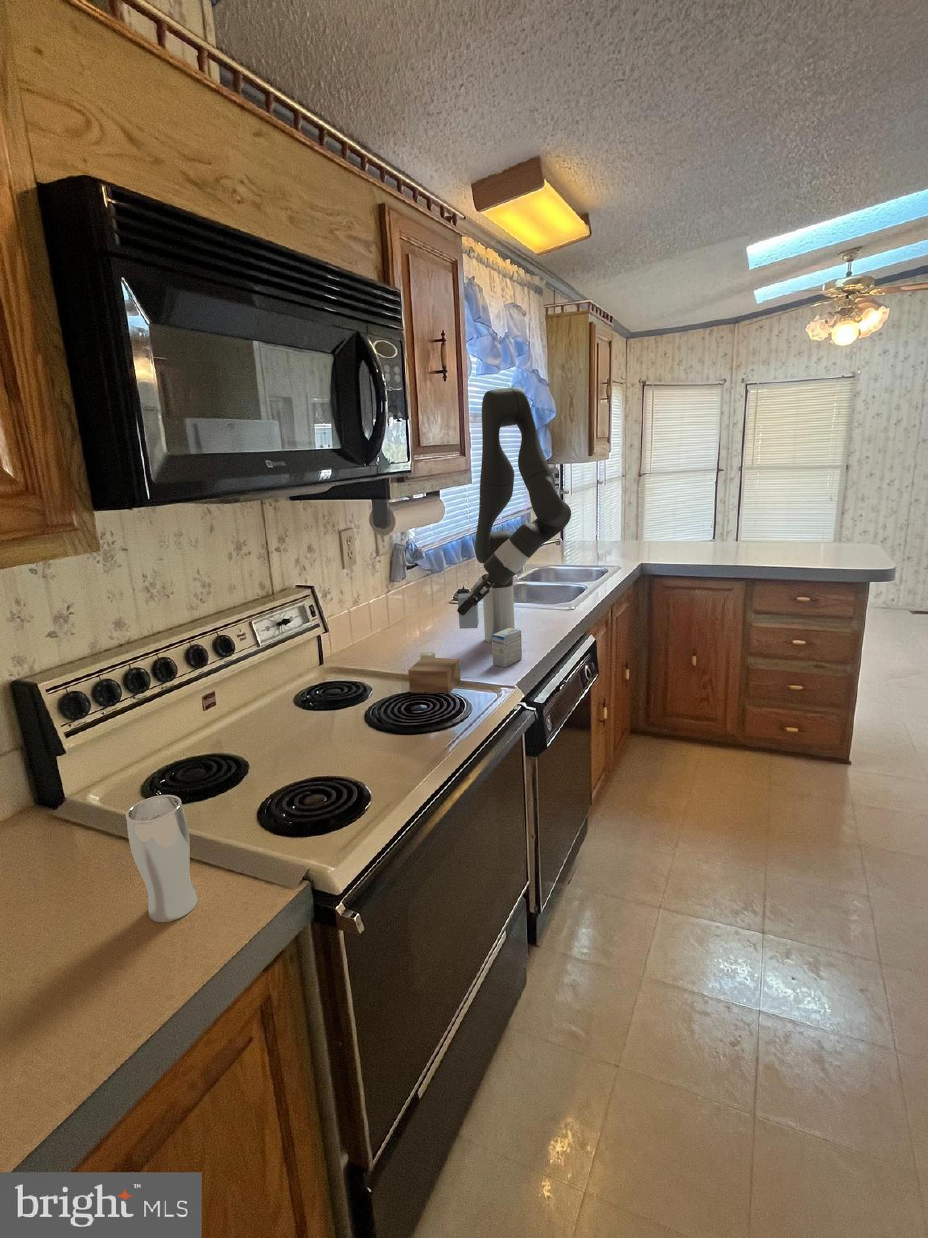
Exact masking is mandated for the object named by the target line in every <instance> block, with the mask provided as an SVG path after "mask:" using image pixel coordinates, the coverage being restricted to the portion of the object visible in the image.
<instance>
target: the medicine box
mask: <svg viewBox="0 0 928 1238" xmlns="http://www.w3.org/2000/svg"><path fill="white" fill-rule="evenodd" d="M491 645H492V648H491V649H492V663H493V664H492V665H494V666H498V667H502V668H506V667H509V666H511V665H513V664H514V663H517V662H519V661H520V660H522V659H523V651H522V630H521V629H517V628H515V629H513V628H507V629H505V630H502V631H500V632H498V633H495V634H493V635H492V643H491Z"/></svg>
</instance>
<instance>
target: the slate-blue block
mask: <svg viewBox="0 0 928 1238" xmlns="http://www.w3.org/2000/svg"><path fill="white" fill-rule="evenodd" d="M470 594H471V593H469V592H468V593H459V594H458V597H457V606H458V607H457V609H458V608H459V607H460V606H461V605H462V604H463V603H464V602H465V600H466V599H467V597H469V596H470ZM472 598H473V599H474V600H476V599H477V597H476V596H473V597H472ZM478 604H479V602H478V603H477V605H475V606H472V607H471V608H470V609H469V611H468V612H467V613H466V614H465V615H464V616H462V615H461V614H459V613H458V621H459V622H458V623H459V625H458V626H459V629H461V630H462V629H464V630H465V629H478V628H479V627H478V626H479V622H480V621H479V620H480V619H479V605H478Z"/></svg>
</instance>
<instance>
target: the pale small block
mask: <svg viewBox="0 0 928 1238" xmlns="http://www.w3.org/2000/svg"><path fill="white" fill-rule="evenodd" d="M422 657H425V658H436V652H433V651H424V652H420V653H419V660H420V659H421V658H422Z"/></svg>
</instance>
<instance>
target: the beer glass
mask: <svg viewBox="0 0 928 1238" xmlns="http://www.w3.org/2000/svg"><path fill="white" fill-rule="evenodd" d="M125 819H126V826H127V835H128V843H129V847H130V850H131V855H132V857H133V861H134V863H135V865H136V868H137V870H138V872H139V874H140V876H141V878H142V880H143V883H144V884H145V888H146V892H147V897H148V898H147V899H148V907H147V908H148V910H147V911H148V917H149V918H150V920H151V921H153V922H156V923H169V922H173V921H174V922H175V921H176V920H179V919H181V918H183V917H185V916H187V915H188V914H189V913H191V912H192V911H193V910H194V909H195V907H196V906H197V904H198V895H197V892H196V890H195V887H194V886H193V884H192V881H191V880H192V879H191V874H190V872H191V871H190V863H191V862H190V859H191V856H190V855H191V854H190V853H191V852H190V851H191V849H190V848H191V843H190V841H191V840H190V833H189V826H188V821H187V818H186V814H185V812H184V808H183V805H182V799H181V798H180V797H178V796H177V795H173V794H159V795H155V796H151V797H148V798H145V799H143V800H140V801H139V802H136V803H135V804H133V805H132V806H131V807H130V808H129V809H128V810H127V811H126V814H125Z"/></svg>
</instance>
